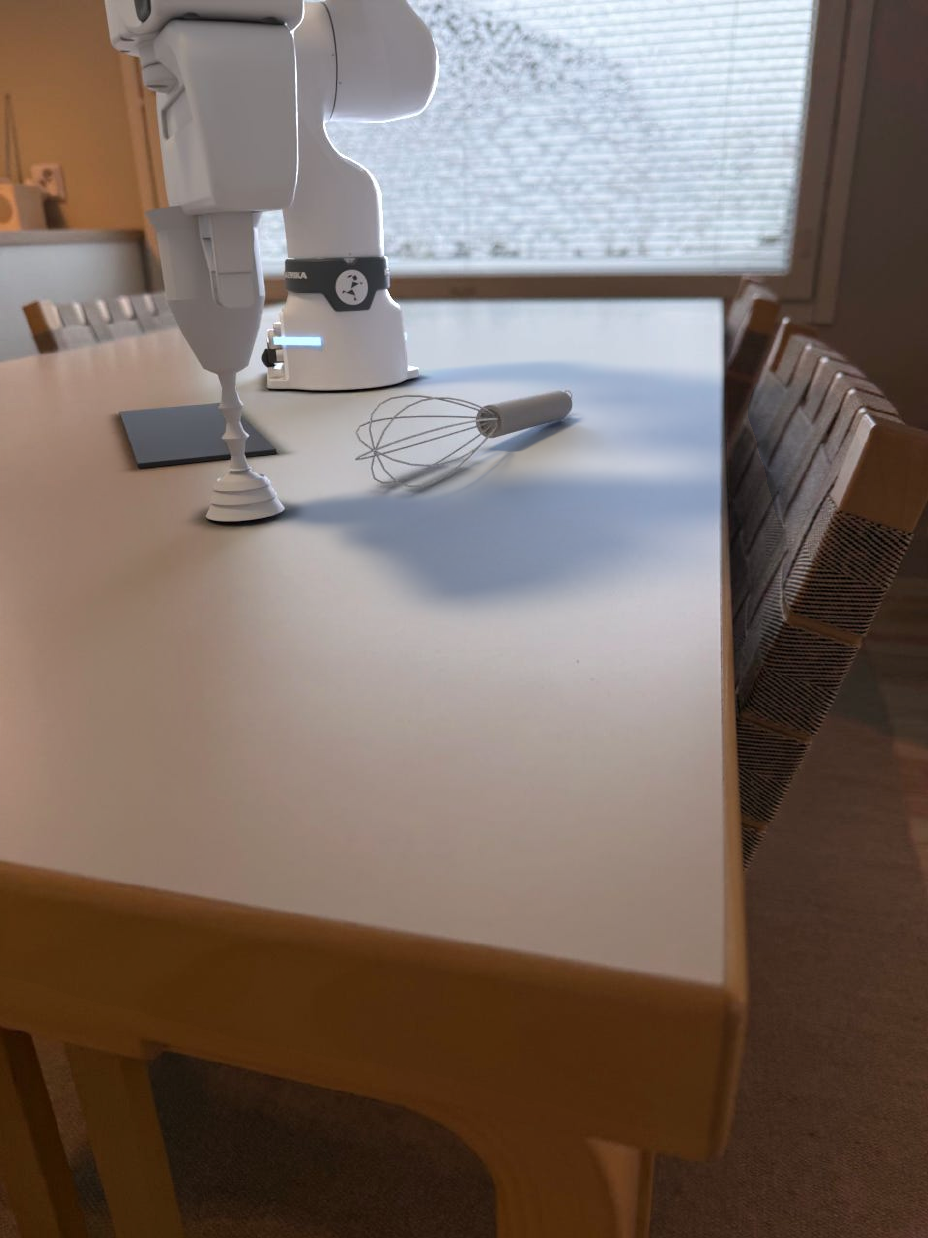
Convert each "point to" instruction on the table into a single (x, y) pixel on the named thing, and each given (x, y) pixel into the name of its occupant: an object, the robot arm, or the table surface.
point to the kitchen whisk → (480, 423)
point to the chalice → (216, 351)
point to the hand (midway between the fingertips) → (234, 306)
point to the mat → (185, 435)
